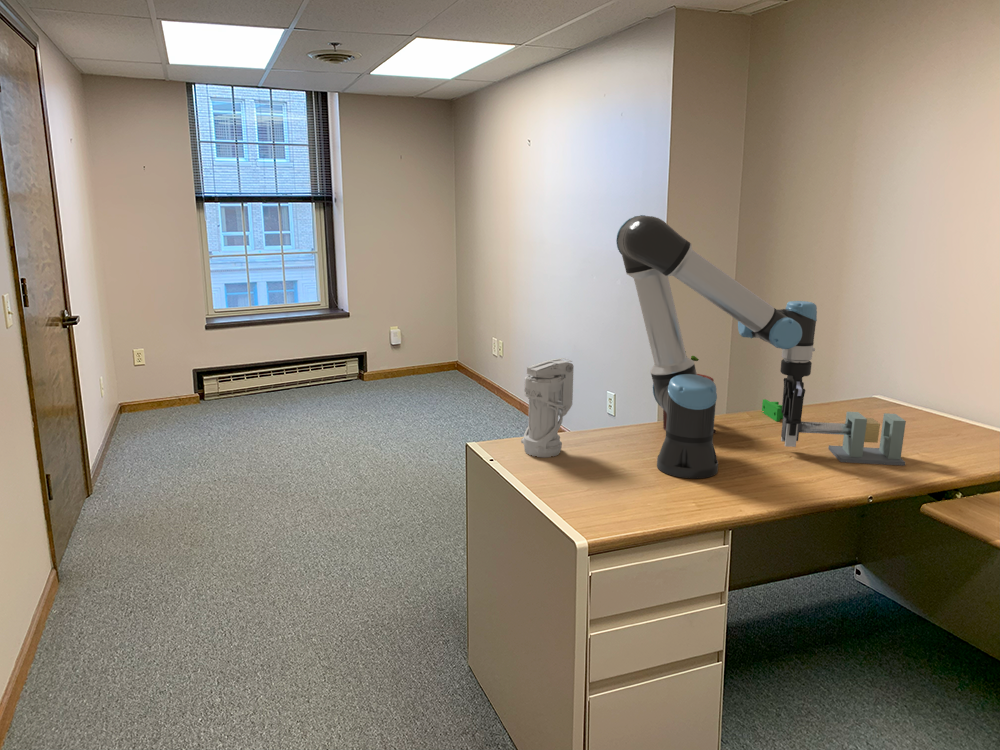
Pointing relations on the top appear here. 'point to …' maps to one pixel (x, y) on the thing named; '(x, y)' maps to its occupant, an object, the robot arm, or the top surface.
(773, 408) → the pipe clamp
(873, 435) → the spacer
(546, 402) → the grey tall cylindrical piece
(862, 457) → the bearing stand
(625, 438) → the top surface
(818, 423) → the shaft
